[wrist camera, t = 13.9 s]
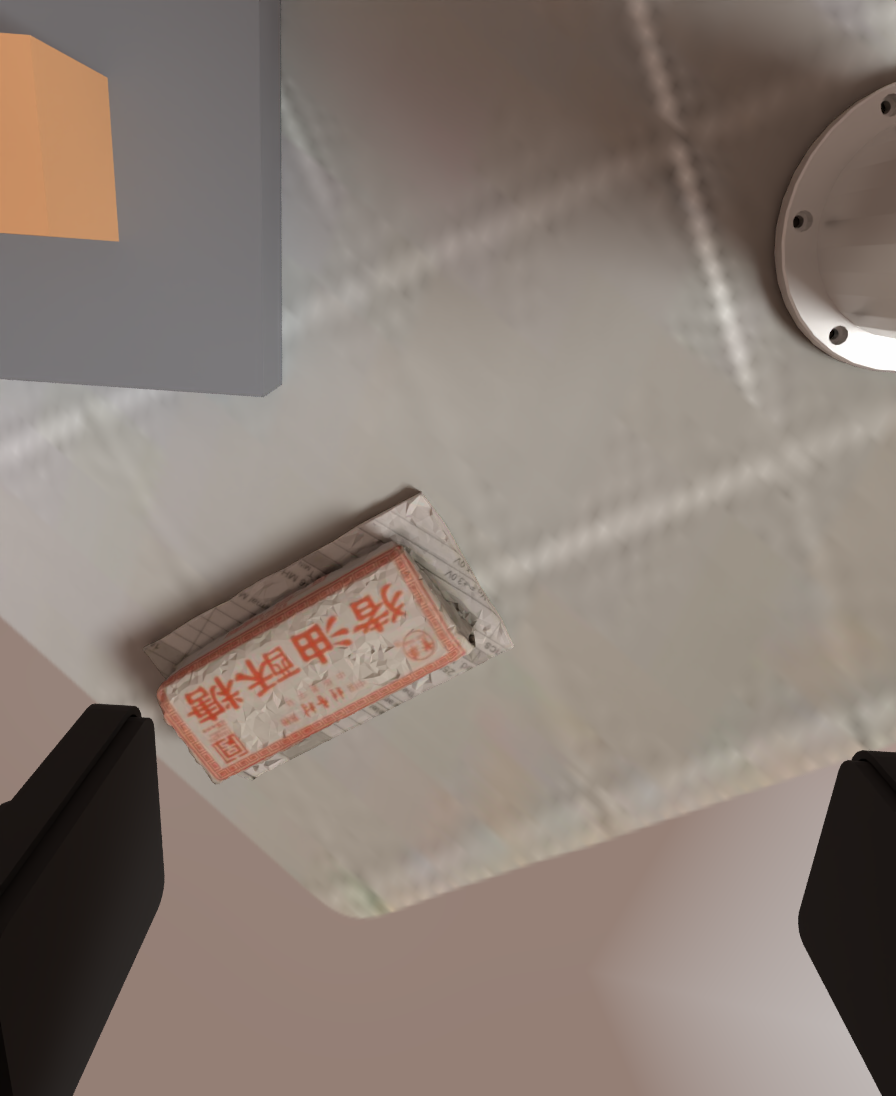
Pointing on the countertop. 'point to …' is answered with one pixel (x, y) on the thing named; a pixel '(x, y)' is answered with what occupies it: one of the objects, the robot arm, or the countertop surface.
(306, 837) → the countertop surface
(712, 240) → the countertop surface
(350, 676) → the packaged product
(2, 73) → the cube
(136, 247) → the plinth
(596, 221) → the countertop surface
